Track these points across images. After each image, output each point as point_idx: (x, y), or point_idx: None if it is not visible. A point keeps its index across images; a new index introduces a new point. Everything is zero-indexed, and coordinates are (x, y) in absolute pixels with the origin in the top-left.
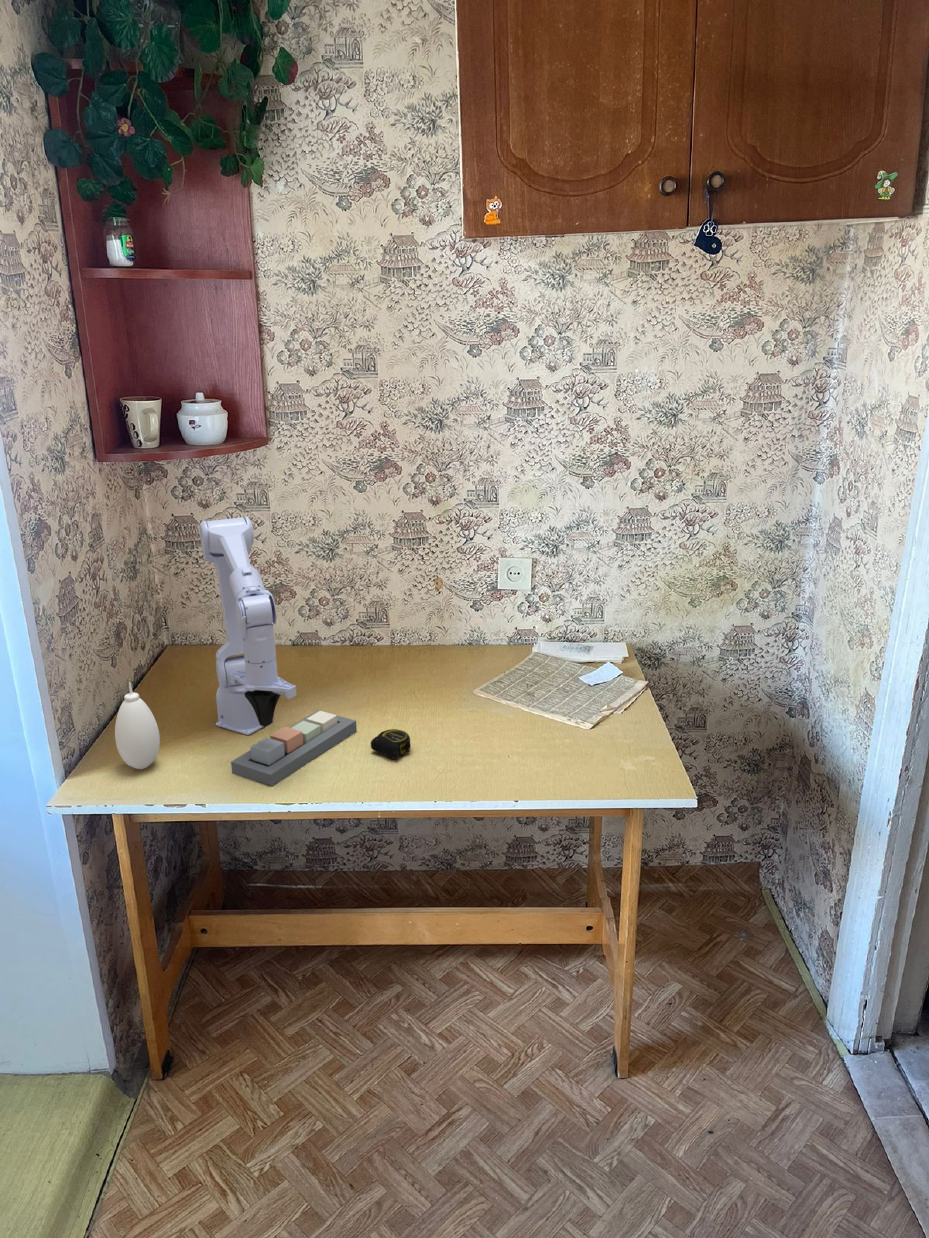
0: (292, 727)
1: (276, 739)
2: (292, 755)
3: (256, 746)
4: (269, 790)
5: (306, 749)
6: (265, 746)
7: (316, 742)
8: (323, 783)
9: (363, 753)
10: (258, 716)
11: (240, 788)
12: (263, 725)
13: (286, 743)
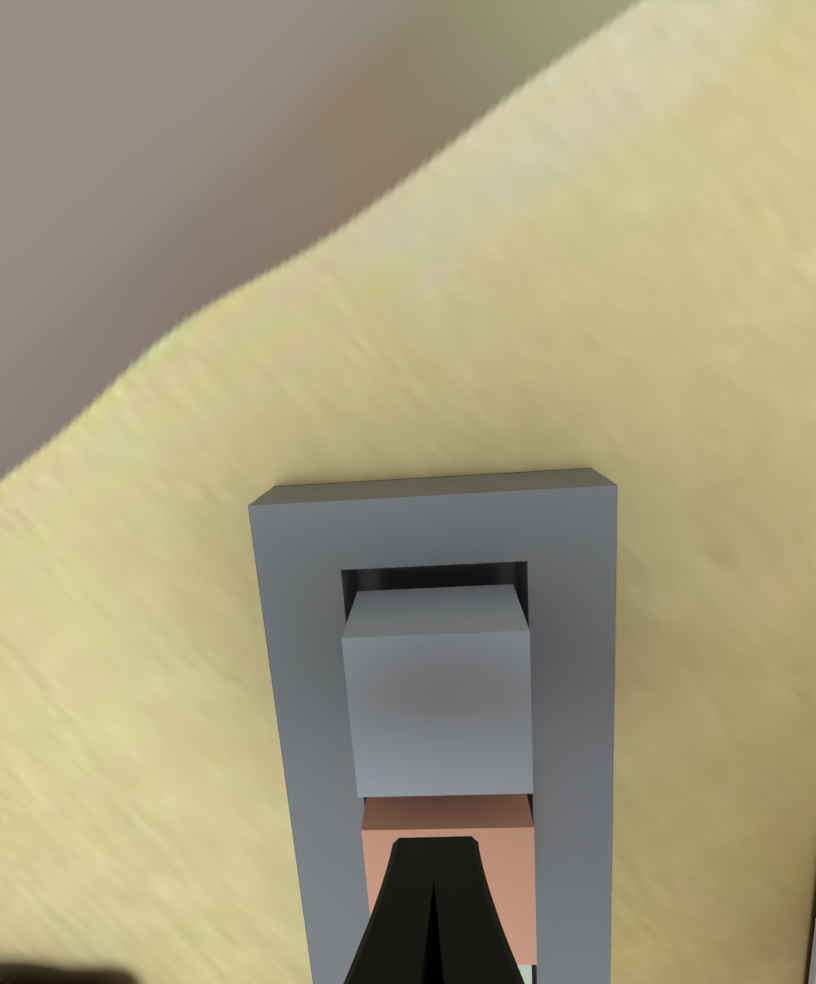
0: (527, 979)
1: (466, 812)
2: (326, 749)
3: (490, 656)
4: (253, 449)
5: (315, 838)
6: (427, 690)
7: (330, 920)
8: (83, 659)
9: (162, 955)
10: (465, 947)
11: (410, 368)
12: (416, 846)
13: (373, 809)
